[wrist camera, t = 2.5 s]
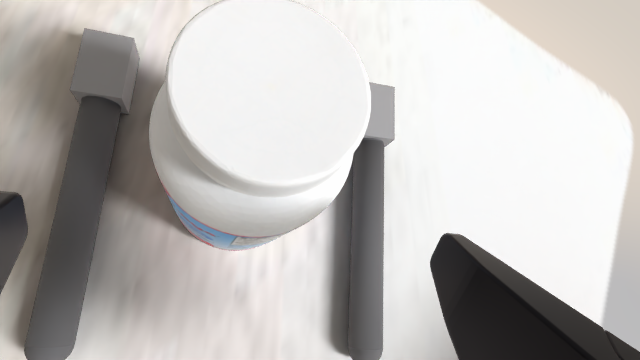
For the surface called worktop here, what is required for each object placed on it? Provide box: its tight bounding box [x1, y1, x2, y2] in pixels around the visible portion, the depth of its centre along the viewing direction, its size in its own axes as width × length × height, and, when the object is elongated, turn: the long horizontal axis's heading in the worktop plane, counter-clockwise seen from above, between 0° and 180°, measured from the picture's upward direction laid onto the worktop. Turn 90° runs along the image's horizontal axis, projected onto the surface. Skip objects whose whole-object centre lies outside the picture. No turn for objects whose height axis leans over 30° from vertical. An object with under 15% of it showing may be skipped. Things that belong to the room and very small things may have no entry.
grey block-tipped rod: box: [348, 82, 394, 360], centre depth 20 cm, size 14×2×2 cm, turn 177°
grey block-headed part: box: [24, 28, 140, 360], centre depth 16 cm, size 14×2×2 cm, turn 177°
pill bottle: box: [149, 0, 371, 251], centre depth 14 cm, size 6×6×11 cm
